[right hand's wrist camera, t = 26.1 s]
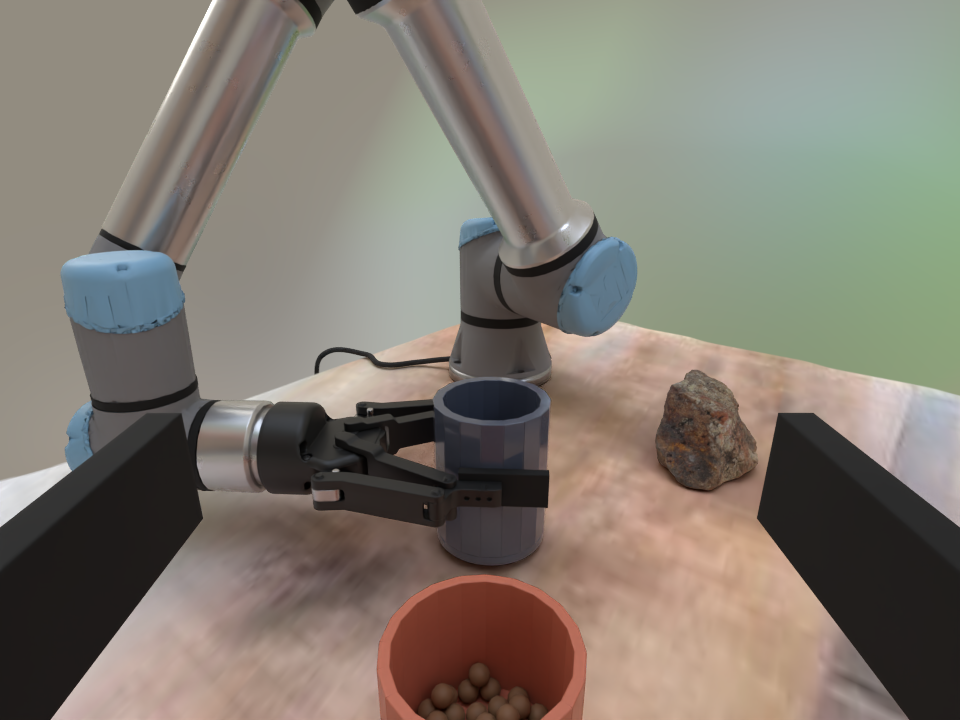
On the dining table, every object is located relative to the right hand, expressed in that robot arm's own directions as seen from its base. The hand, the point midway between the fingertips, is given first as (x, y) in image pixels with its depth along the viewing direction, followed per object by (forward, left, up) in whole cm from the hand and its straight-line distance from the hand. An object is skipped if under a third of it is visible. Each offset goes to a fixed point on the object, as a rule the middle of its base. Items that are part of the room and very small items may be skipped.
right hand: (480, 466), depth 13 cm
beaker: (+14, -26, -24) cm, 38 cm away
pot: (+5, -8, -24) cm, 26 cm away
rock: (0, -49, -24) cm, 55 cm away
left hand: (+10, -28, -16) cm, 34 cm away
